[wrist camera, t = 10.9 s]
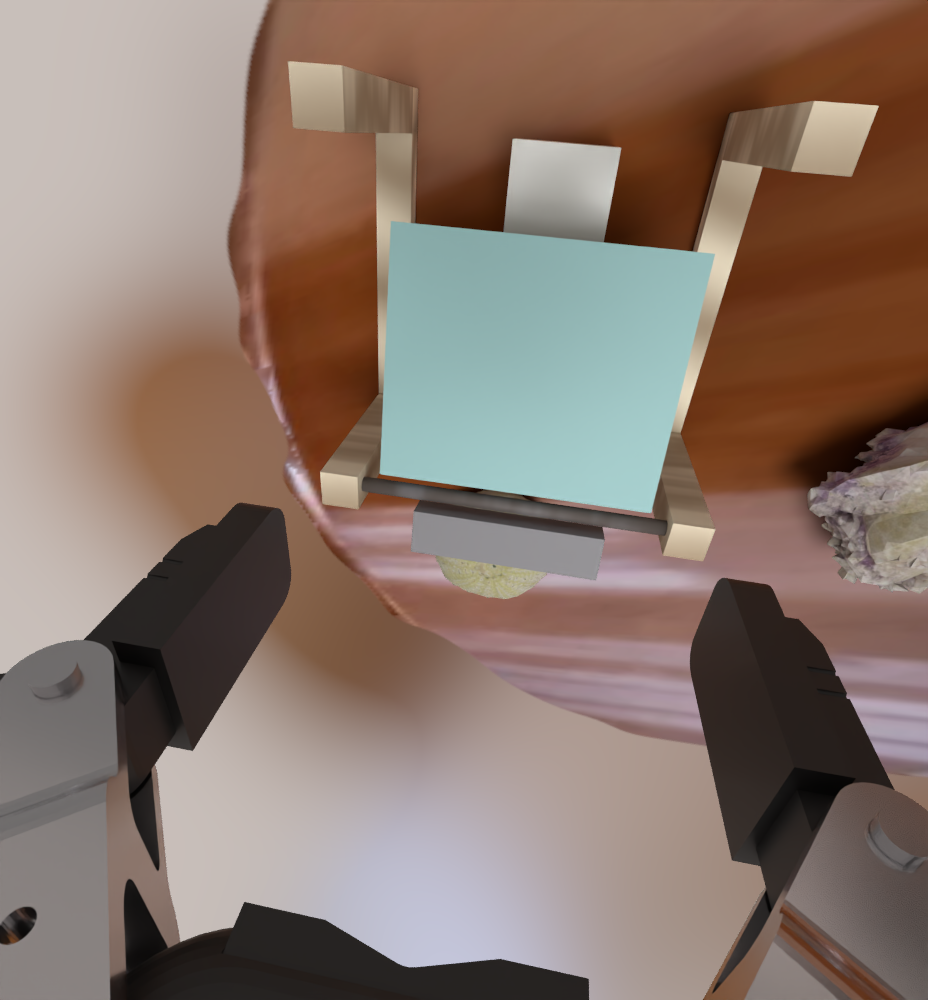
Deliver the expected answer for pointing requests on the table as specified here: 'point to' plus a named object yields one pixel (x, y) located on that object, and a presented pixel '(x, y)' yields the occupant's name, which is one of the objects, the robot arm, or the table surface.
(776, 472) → the table surface
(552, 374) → the trapdoor
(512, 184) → the grey cube
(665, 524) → the frame
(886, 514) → the geode
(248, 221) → the table surface
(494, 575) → the sea urchin shell
